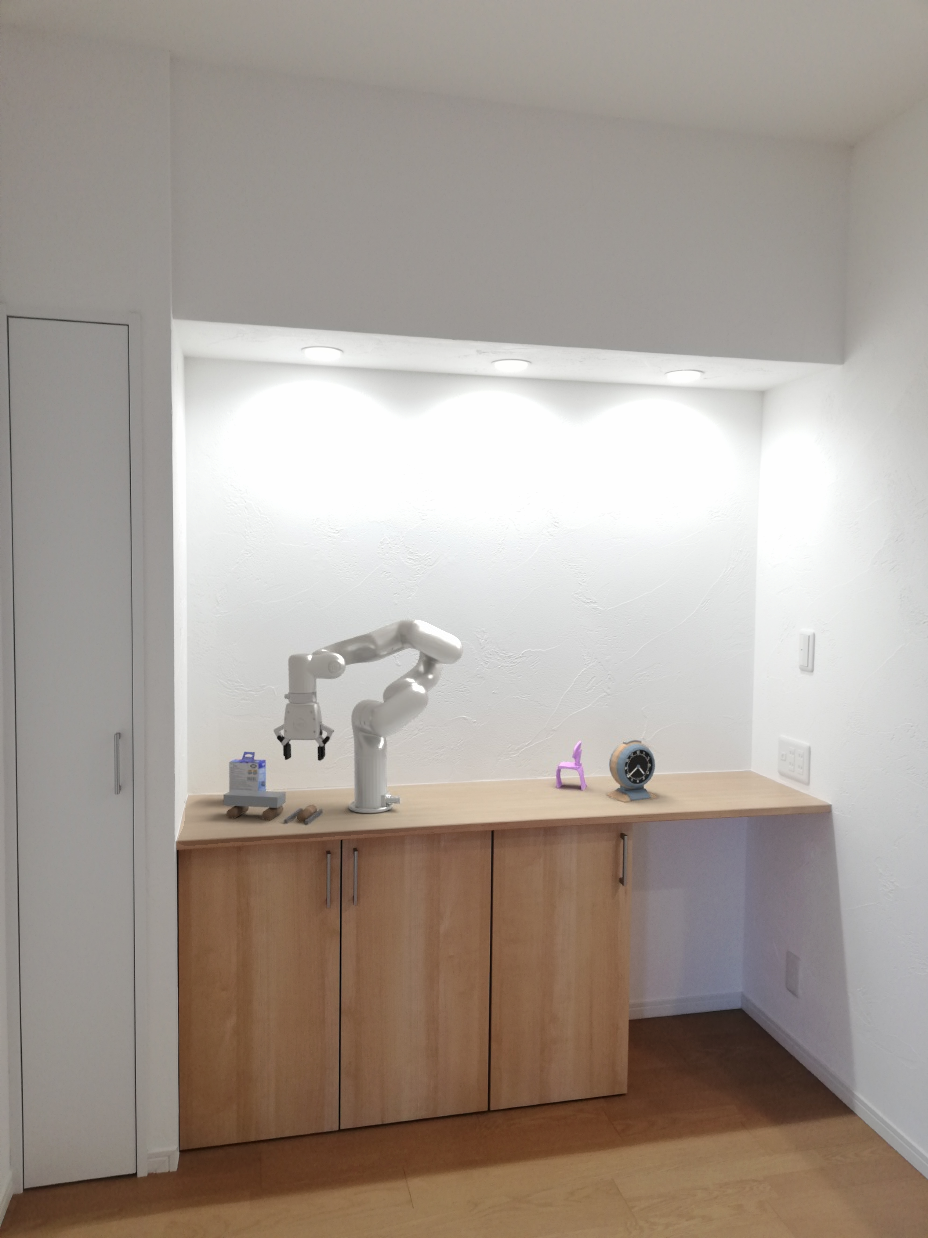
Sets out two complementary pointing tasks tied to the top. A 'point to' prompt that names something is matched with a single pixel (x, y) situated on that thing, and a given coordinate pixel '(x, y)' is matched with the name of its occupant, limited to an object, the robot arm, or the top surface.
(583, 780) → the toy chair
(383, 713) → the robot arm
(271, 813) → the roller
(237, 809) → the roller
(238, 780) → the ink cartridge box
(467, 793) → the top surface
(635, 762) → the alarm clock
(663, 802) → the top surface
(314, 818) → the bar
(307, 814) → the roller
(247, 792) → the slab
